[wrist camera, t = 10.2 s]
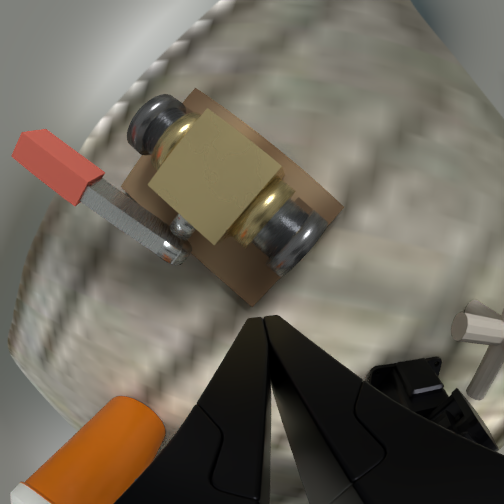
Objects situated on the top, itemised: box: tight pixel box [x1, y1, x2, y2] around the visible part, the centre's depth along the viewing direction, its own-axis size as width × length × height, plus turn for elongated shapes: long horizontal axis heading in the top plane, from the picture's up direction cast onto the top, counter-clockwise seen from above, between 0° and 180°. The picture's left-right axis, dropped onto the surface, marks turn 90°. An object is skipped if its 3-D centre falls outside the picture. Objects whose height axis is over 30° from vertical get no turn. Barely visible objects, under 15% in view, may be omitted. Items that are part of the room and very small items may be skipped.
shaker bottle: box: [10, 396, 165, 504], centre depth 15 cm, size 9×9×20 cm
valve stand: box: [121, 88, 344, 307], centre depth 16 cm, size 13×9×6 cm
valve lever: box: [12, 129, 192, 265], centre depth 15 cm, size 3×2×13 cm
